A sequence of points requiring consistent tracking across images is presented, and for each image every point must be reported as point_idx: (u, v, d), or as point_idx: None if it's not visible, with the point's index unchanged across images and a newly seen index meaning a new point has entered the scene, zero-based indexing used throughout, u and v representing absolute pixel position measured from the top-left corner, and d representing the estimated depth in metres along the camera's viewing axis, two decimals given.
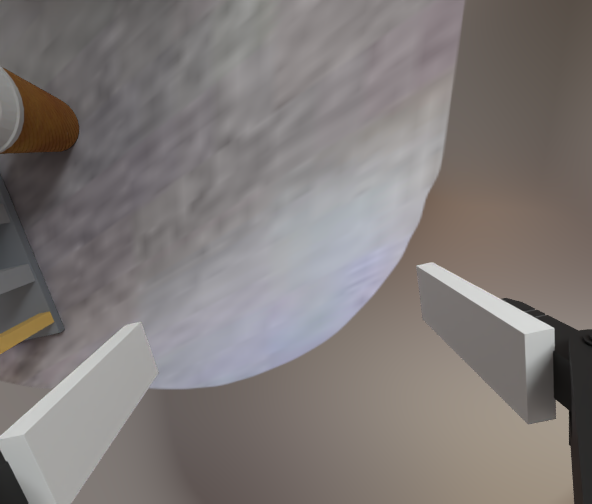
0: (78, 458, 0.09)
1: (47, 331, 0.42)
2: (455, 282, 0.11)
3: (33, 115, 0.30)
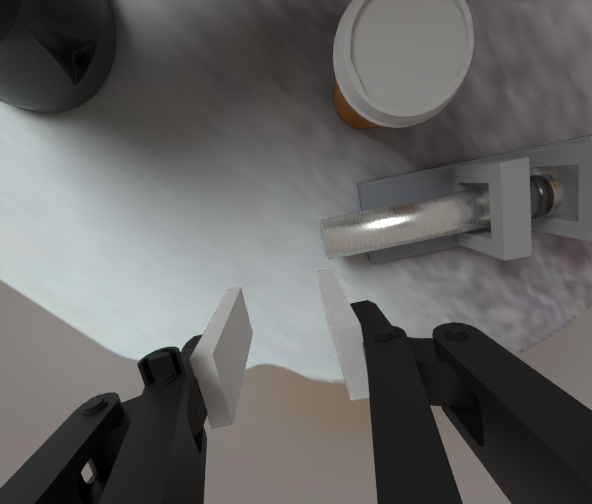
0: (232, 384, 0.11)
1: None
2: (331, 287, 0.14)
3: None
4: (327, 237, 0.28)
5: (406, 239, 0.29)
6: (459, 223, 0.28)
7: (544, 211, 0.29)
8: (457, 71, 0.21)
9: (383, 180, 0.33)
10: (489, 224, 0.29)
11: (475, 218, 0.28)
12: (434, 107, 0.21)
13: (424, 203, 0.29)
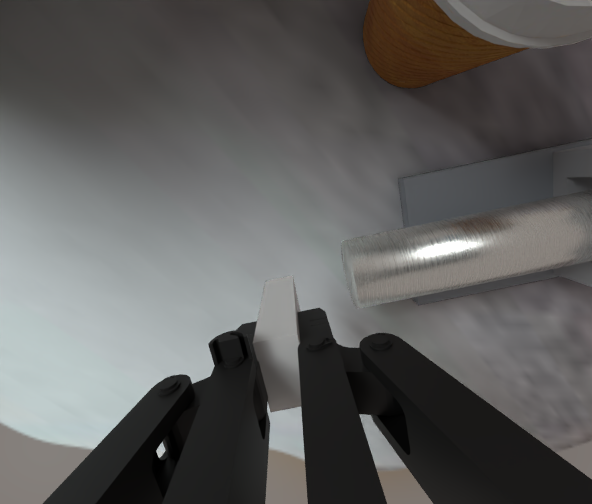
0: None
1: None
2: (285, 294, 0.14)
3: None
4: (358, 274, 0.16)
5: (495, 276, 0.17)
6: None
7: None
8: None
9: (442, 173, 0.20)
10: None
11: None
12: None
13: (529, 213, 0.16)
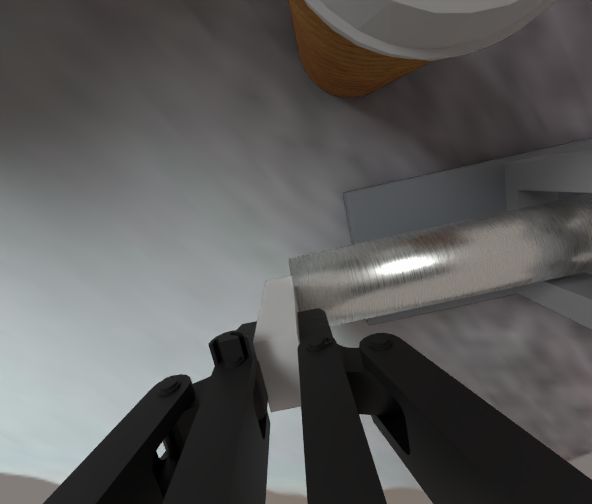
0: None
1: None
2: (285, 294, 0.14)
3: None
4: (298, 296, 0.15)
5: (449, 297, 0.15)
6: (553, 266, 0.15)
7: None
8: None
9: (387, 187, 0.19)
10: None
11: (585, 258, 0.15)
12: None
13: (484, 229, 0.15)
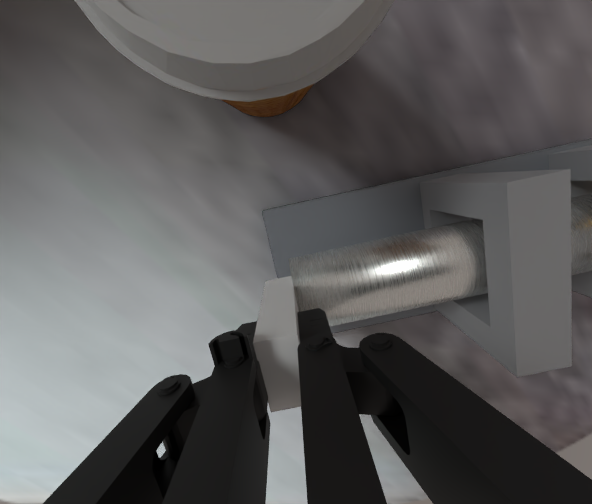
0: None
1: None
2: (285, 294, 0.14)
3: None
4: (298, 296, 0.15)
5: (449, 297, 0.15)
6: None
7: None
8: None
9: (303, 205, 0.19)
10: None
11: (584, 258, 0.15)
12: (319, 36, 0.07)
13: None
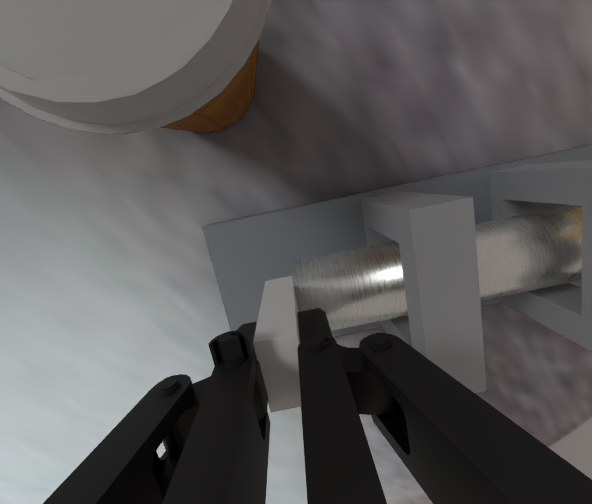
0: None
1: None
2: (285, 294, 0.14)
3: None
4: (299, 301, 0.15)
5: None
6: (555, 273, 0.15)
7: None
8: None
9: (244, 221, 0.19)
10: None
11: None
12: (164, 76, 0.07)
13: (486, 235, 0.15)
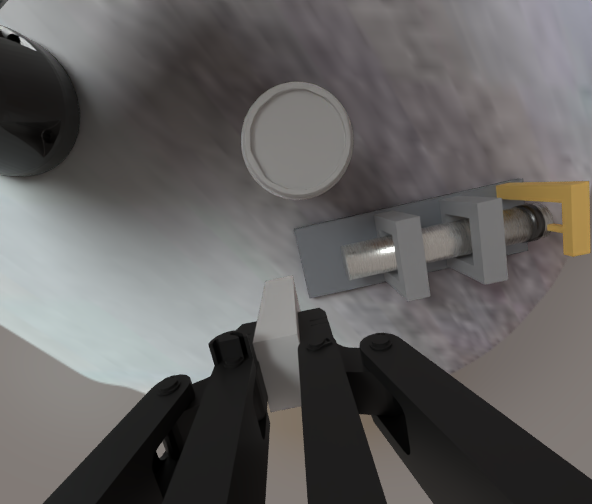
0: None
1: None
2: (285, 294, 0.14)
3: None
4: (349, 261, 0.33)
5: None
6: (463, 247, 0.33)
7: (537, 236, 0.33)
8: (340, 157, 0.25)
9: (315, 226, 0.37)
10: None
11: None
12: (323, 187, 0.26)
13: (432, 231, 0.33)
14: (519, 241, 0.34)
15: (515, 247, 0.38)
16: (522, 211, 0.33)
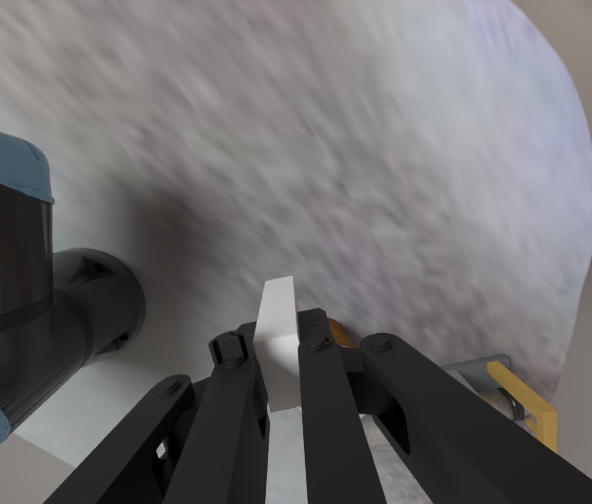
0: None
1: (505, 367, 0.45)
2: (285, 294, 0.14)
3: None
4: None
5: None
6: None
7: None
8: None
9: None
10: None
11: None
12: None
13: None
14: None
15: None
16: (507, 400, 0.41)
